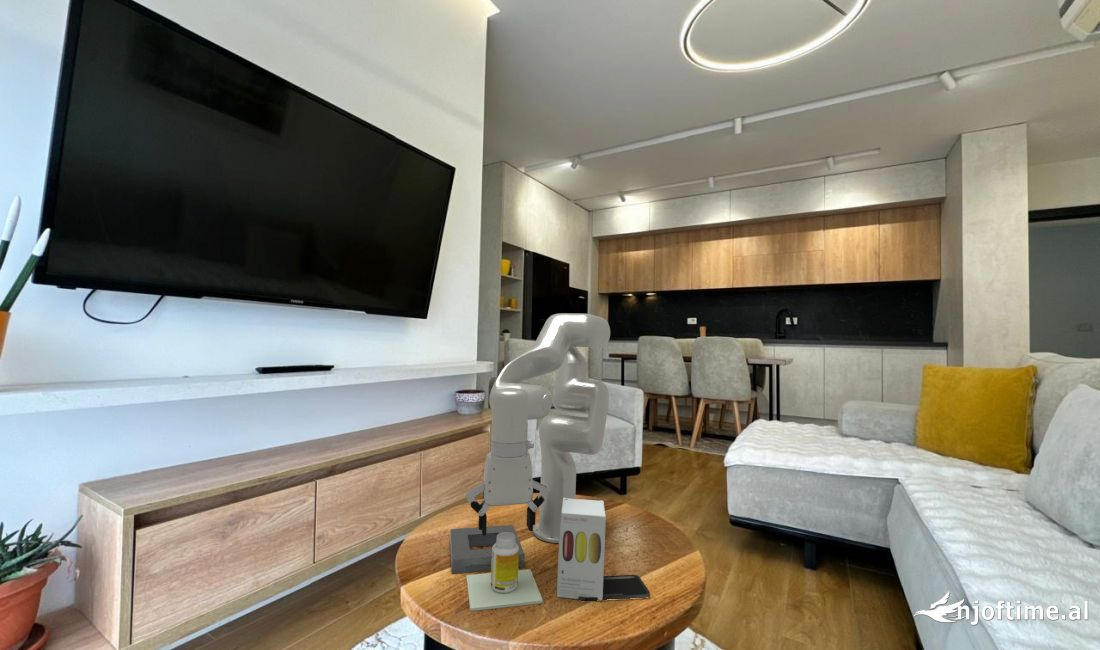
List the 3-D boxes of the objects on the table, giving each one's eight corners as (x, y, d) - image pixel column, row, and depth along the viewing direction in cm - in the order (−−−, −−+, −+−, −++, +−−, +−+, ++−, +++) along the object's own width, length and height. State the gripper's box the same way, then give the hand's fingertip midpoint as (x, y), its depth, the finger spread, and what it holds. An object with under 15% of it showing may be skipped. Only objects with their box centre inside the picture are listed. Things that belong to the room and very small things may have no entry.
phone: (571, 577, 93) (638, 574, 95) (571, 582, 93) (638, 579, 95) (579, 598, 85) (651, 594, 87) (579, 604, 85) (651, 600, 87)
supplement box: (556, 598, 86) (559, 512, 87) (558, 574, 95) (561, 496, 96) (604, 602, 86) (606, 515, 86) (601, 577, 95) (604, 499, 96)
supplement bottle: (522, 588, 88) (524, 537, 89) (499, 597, 85) (502, 544, 85) (507, 576, 93) (509, 527, 93) (485, 584, 89) (487, 534, 90)
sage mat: (530, 571, 96) (530, 569, 96) (542, 603, 84) (542, 600, 84) (466, 577, 93) (466, 575, 93) (470, 611, 81) (470, 608, 81)
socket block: (512, 536, 113) (512, 524, 113) (524, 567, 98) (524, 553, 98) (449, 541, 109) (450, 529, 109) (451, 574, 94) (452, 559, 94)
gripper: (544, 442, 96) (543, 519, 96) (465, 445, 92) (463, 526, 91) (553, 451, 89) (551, 535, 88) (468, 455, 84) (465, 543, 84)
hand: (506, 530), depth 90 cm, fingers open, 9 cm apart
